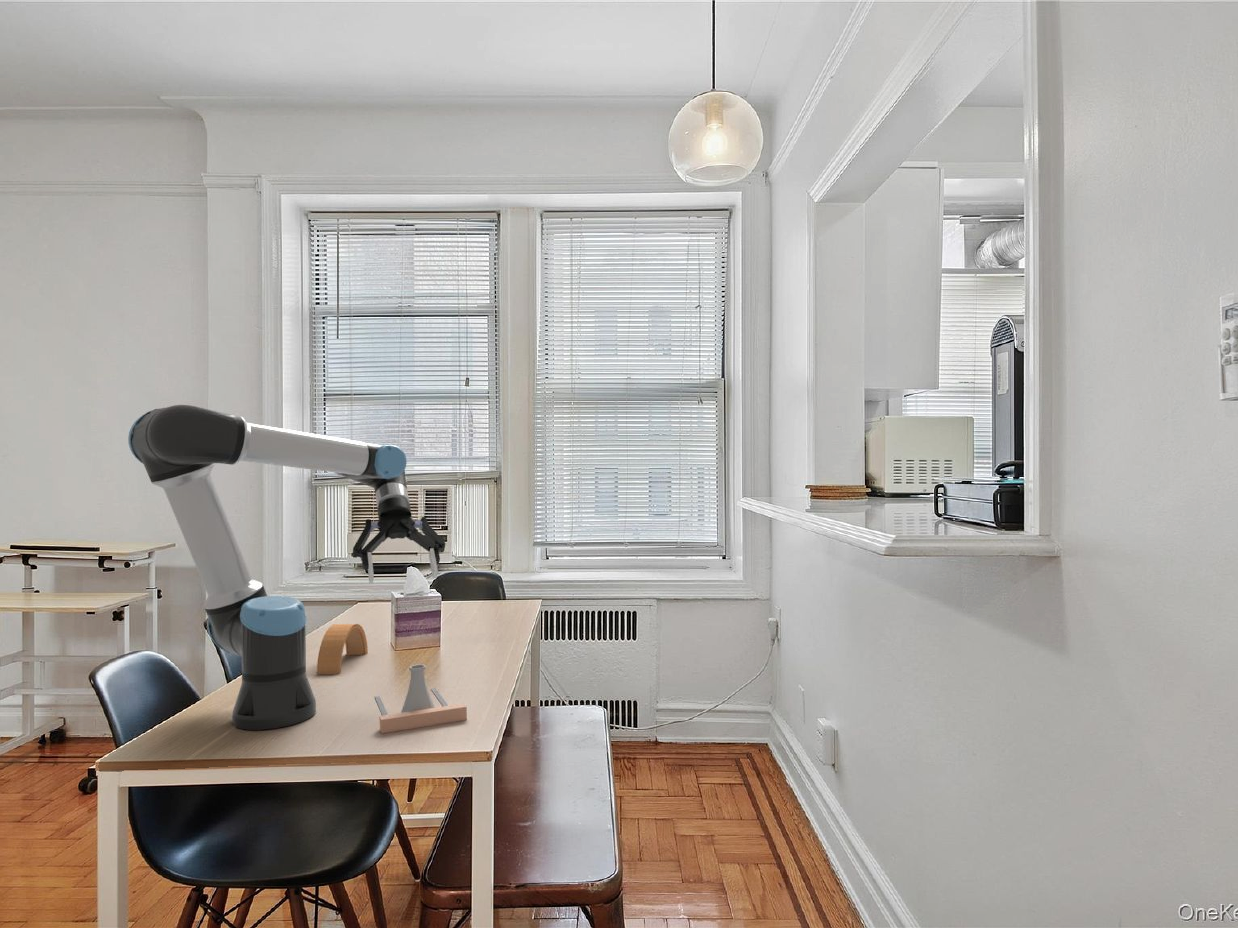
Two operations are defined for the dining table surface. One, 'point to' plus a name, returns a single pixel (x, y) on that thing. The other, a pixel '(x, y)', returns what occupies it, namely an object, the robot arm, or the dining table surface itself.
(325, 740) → the dining table surface
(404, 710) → the flask
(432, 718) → the stop bar lane
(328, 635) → the arch
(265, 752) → the dining table surface
